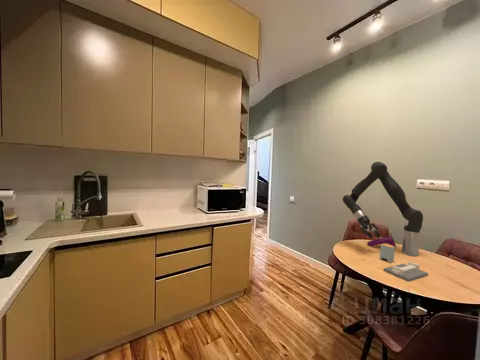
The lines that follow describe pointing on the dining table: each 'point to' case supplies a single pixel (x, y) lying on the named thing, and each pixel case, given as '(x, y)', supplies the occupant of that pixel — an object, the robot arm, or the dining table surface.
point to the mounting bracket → (382, 241)
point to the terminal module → (387, 252)
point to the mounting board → (407, 275)
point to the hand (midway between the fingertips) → (375, 237)
